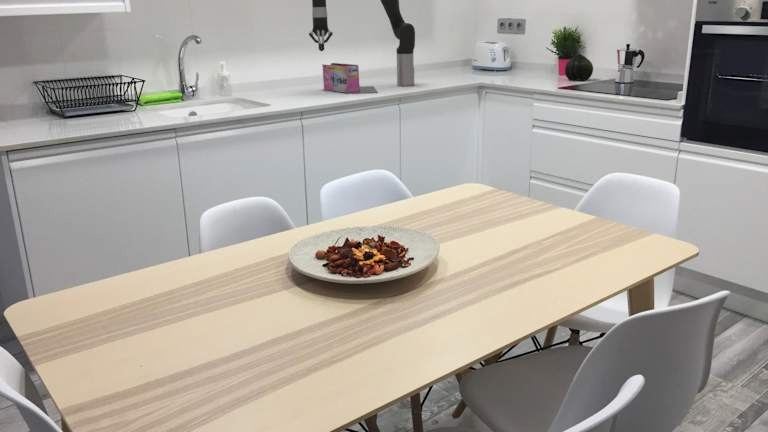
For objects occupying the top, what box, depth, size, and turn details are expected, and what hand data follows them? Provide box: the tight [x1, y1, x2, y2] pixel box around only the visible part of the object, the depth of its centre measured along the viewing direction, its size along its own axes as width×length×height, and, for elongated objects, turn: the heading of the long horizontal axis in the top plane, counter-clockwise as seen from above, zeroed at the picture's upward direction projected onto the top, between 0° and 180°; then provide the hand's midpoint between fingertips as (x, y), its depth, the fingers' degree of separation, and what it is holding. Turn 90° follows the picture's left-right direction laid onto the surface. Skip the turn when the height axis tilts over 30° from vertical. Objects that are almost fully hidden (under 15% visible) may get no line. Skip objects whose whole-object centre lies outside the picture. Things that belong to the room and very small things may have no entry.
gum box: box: [322, 62, 361, 94], centre depth 361 cm, size 24×8×14 cm, turn 39°
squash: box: [564, 53, 594, 82], centre depth 379 cm, size 14×15×15 cm
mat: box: [351, 85, 378, 95], centre depth 364 cm, size 13×26×1 cm, turn 6°
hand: (321, 51), depth 355 cm, fingers closed
